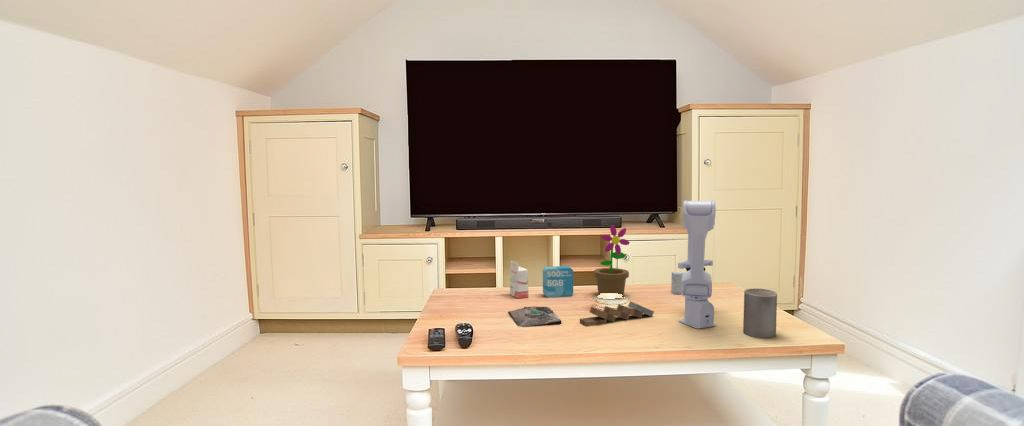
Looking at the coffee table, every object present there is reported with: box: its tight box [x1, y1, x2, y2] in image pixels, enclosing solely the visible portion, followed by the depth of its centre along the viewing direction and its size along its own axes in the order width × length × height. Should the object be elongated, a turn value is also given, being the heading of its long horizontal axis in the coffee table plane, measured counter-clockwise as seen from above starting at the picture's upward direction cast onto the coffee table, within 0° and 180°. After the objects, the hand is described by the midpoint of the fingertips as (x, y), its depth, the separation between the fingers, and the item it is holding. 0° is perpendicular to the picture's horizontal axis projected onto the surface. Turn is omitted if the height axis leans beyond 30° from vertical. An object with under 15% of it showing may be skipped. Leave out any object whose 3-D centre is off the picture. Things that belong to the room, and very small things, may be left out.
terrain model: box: [507, 305, 562, 328], centre depth 196 cm, size 20×15×3 cm
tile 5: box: [579, 315, 607, 327], centre depth 188 cm, size 4×2×8 cm
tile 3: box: [603, 305, 631, 321], centre depth 192 cm, size 4×2×8 cm
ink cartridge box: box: [509, 260, 529, 299], centre depth 226 cm, size 9×5×15 cm, turn 25°
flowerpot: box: [593, 224, 631, 296], centre depth 225 cm, size 14×14×30 cm
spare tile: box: [627, 301, 655, 317], centre depth 196 cm, size 4×2×8 cm
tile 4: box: [589, 306, 617, 323], centre depth 189 cm, size 4×2×8 cm
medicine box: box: [670, 271, 686, 295], centre depth 229 cm, size 8×4×9 cm, turn 84°
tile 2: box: [616, 304, 644, 319], centre depth 194 cm, size 4×2×8 cm
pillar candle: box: [742, 287, 778, 339], centre depth 175 cm, size 10×10×15 cm
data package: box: [542, 265, 574, 298], centre depth 226 cm, size 12×4×12 cm, turn 99°
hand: (695, 286), depth 201 cm, fingers closed
